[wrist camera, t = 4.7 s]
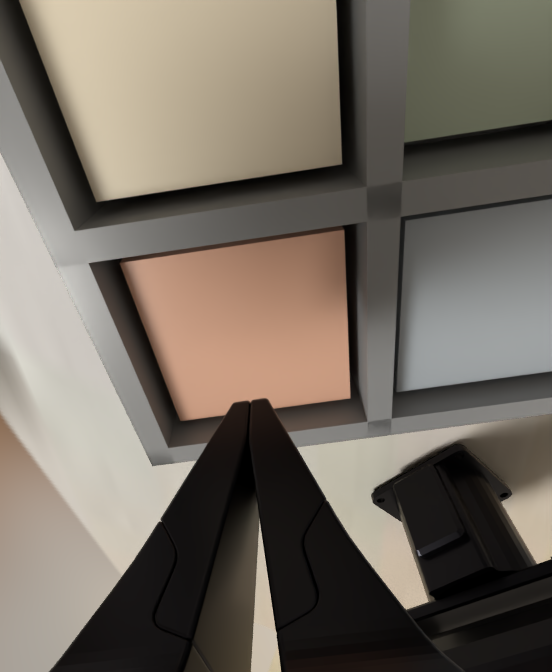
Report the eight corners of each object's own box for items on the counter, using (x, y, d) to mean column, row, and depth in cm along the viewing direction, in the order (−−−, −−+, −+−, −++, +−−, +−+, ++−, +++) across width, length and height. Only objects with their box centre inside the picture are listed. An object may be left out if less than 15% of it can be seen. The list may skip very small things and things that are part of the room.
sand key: (331, 154, 11) (341, 164, 9) (114, 187, 11) (96, 202, 9) (313, -197, 7) (327, -255, 6) (-1, -140, 7) (-52, -184, 6)
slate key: (545, 343, 14) (572, 368, 13) (384, 365, 15) (396, 391, 13) (597, 173, 11) (641, 185, 10) (388, 205, 11) (405, 220, 10)
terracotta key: (342, 371, 15) (350, 398, 14) (186, 392, 15) (180, 421, 14) (334, 213, 11) (344, 229, 10) (133, 242, 12) (119, 263, 10)
